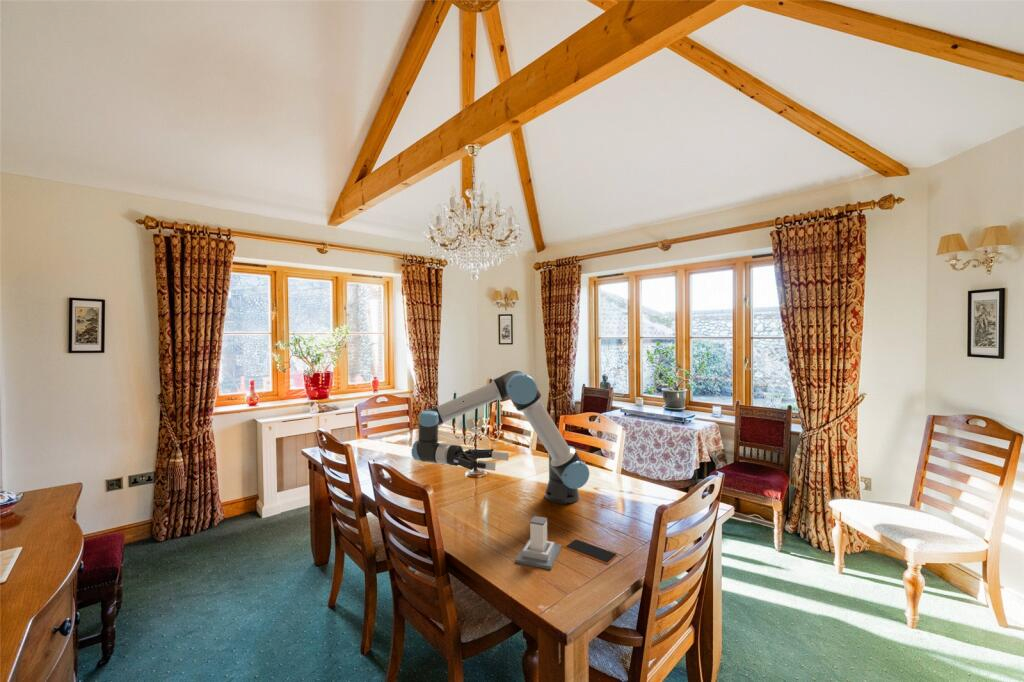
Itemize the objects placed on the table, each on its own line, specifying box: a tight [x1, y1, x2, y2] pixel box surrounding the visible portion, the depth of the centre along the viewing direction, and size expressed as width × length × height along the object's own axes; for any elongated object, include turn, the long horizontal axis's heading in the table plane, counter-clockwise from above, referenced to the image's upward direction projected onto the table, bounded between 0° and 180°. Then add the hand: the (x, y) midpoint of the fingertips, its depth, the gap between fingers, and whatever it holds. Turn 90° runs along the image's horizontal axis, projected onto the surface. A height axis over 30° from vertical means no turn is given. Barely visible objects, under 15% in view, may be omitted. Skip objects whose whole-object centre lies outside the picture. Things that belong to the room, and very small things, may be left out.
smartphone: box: [564, 538, 619, 565], centre depth 142 cm, size 8×17×1 cm, turn 50°
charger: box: [529, 515, 548, 553], centre depth 140 cm, size 4×4×11 cm
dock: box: [514, 539, 562, 570], centre depth 140 cm, size 14×12×3 cm
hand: (501, 461), depth 153 cm, fingers open, 13 cm apart
